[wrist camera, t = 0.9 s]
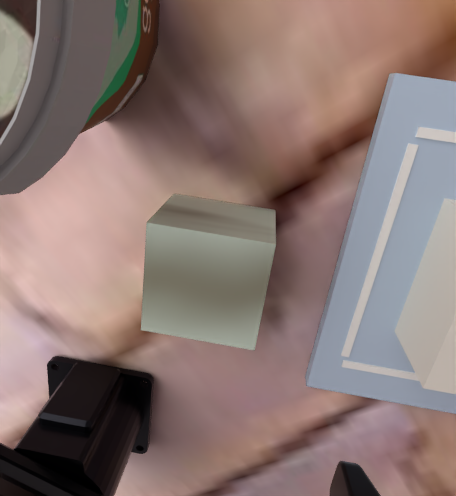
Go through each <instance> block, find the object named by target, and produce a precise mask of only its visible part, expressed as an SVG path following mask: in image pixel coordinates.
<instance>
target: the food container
mask: <svg viewBox="0 0 456 496" xmlns="http://www.w3.org/2000/svg"><path fill="white" fill-rule="evenodd" d="M159 7H160V4H159V0H0V195H5V194H16V193H20V192H22V191H23V190H24V189H26V188H27V187H29V186H30V185H32V184H33V183H35V182H36V181H38V180H39V179H40V178H42V177H43V176H44V175H45V174H46V173H47V172H48V171H49V170H50V169H51V168H52V167H53V166H54V165H55V164H56V163H57V162H58V161H59V160H60V159H61V158H62V157H63V156H64V155H65V154H66V152H67V151H68V149H69V148H70V146H71V145H72V143H73V142H74V141H75V139H76V138H77V136H78V135H79V134H80V133H82V132H84V131H86V130H88V129H90V128H92V127H94V126H96V125H98V124H100V123H102V122H104V121H106V120H107V119H109V118H110V117H111V116H113V115H114V114H116V113H117V112H119V111H120V110H121V109H123V108H124V107H125V106H126V105H127V104H128V102H129V101H130V100H131V98H132V97H133V96H134V94H135V93H136V92H137V90H138V89H139V88H140V87H141V85H142V84H143V83H144V81H145V80H146V77H147V74H148V71H149V68H150V65H151V63H152V60H153V57H154V54H155V51H156V48H157V45H158V27H159Z"/></svg>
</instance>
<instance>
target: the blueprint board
mask: <svg viewBox="0 0 456 496" xmlns="http://www.w3.org/2000/svg"><path fill="white" fill-rule="evenodd" d="M305 379H306V386H308V387H313V388H319V389H324V390H329V391H335V392H340V393H346V394H351V395H356V396H362V397H367V398H373V399H378V400H383V401H389V402H394V403H400V404H405V405H410V406H416V407H421V408H427V409H432V410H437V411H443V412H448V413H454V414H456V82H454V81H447V80H440V79H433V78H426V77H419V76H412V75H406V74H399V73H391V74H389V77H388V81H387V85H386V88H385V92H384V95H383V99H382V102H381V106H380V110H379V113H378V117H377V120H376V124H375V128H374V131H373V135H372V138H371V142H370V146H369V149H368V153H367V156H366V160H365V163H364V167H363V171H362V174H361V178H360V181H359V185H358V189H357V192H356V196H355V199H354V203H353V207H352V210H351V214H350V217H349V221H348V224H347V228H346V232H345V235H344V239H343V242H342V246H341V250H340V253H339V257H338V260H337V264H336V268H335V271H334V275H333V278H332V282H331V285H330V289H329V293H328V296H327V300H326V303H325V307H324V311H323V314H322V318H321V321H320V325H319V329H318V332H317V336H316V339H315V343H314V347H313V350H312V354H311V357H310V361H309V364H308V368H307V372H306V375H305Z"/></svg>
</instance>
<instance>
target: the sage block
mask: <svg viewBox="0 0 456 496" xmlns="http://www.w3.org/2000/svg"><path fill="white" fill-rule="evenodd" d="M275 247H276V213H275V210H272V209H266V208H260V207H254V206H248V205H241V204H235V203H229V202H223V201H217V200H211V199H205V198H199V197H193V196H186V195H180V194H173V195H172V196H171V197H170V198H169V199H168V200H167V202H166V203H165V204H164V205H163V206H162V207H161V208H160V209H159V210H158V211H157V212H156V213H155V214H154V215H153V216H152V217H151V219H150V220H149V221H148V222H147V226H146V245H145V263H144V282H143V301H142V320H141V330H144V331H150V332H155V333H161V334H166V335H172V336H177V337H183V338H188V339H194V340H199V341H205V342H210V343H216V344H221V345H227V346H232V347H238V348H243V349H249V350H254V351H255V346H256V341H257V336H258V331H259V326H260V321H261V316H262V311H263V306H264V301H265V296H266V292H267V287H268V282H269V277H270V272H271V267H272V262H273V257H274V252H275Z"/></svg>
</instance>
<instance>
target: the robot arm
mask: <svg viewBox="0 0 456 496" xmlns="http://www.w3.org/2000/svg"><path fill="white" fill-rule="evenodd" d="M57 365H58V366H57ZM47 370H48V385H49V400H48V401H47V403H46V404H45V405H44V407H43V408H42V410H41V411H40V412H39V415H38V416H37V418H36V419H35V420H34V422H33V423H32V425H31V426H30V427H29V429H28V430H27V432H26V433H25V434H24V436H23V437H22V438H21V440H20V441H19V443H18V444H17V445H16V447H15V448H14V450H13V449H11V448H9V447H8V446H6V445H4V444H2V443H0V496H114V495H115V492H116V490H117V487H118V484H119V482H120V479H121V477H122V474H123V472H124V469H125V467H126V464H127V461H128V459H129V456H130V454H131V452H134V453H139V454H143V453H146V452H147V449H148V447H149V441H150V427H151V414H152V400H153V387H154V378H153V377H152V376H151V375H150V374H148V373H144V372H139V371H133V370H128V369H123V368H117V367H112V366H107V365H101V364H96V363H91V362H85V361H80V360H75V359H69V358H64V357H59V356H55V357H53V358H52V359H51V360H50V361H49V362H48V364H47ZM143 381H146V382H147V383H145V382H143ZM330 496H381V495H380V494H379V493H378V491H377V490H376V488H375V487H374V485H373V484H372V482H371V481H370V479H369V478H368V476H367V475H366V473H365V472H364V471H363V469H362V468H361V467H360V466H359V465H358V464H356V463H350V462H345V461H340V462H339V463H338V465H337V468H336V471H335V474H334V477H333V480H332V483H331V487H330Z"/></svg>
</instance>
